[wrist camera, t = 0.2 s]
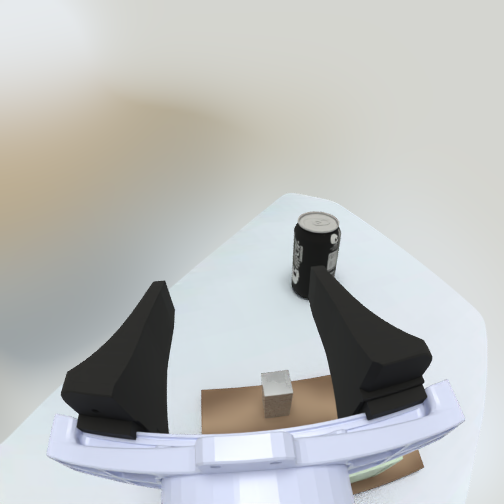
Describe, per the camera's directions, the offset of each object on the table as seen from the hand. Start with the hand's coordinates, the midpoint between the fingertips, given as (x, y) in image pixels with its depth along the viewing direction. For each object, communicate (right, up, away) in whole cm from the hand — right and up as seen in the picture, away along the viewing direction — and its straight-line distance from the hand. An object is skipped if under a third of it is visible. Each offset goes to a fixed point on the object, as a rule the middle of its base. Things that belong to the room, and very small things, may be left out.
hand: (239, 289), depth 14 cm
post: (+3, -15, +14) cm, 20 cm away
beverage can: (+10, -4, +31) cm, 33 cm away
